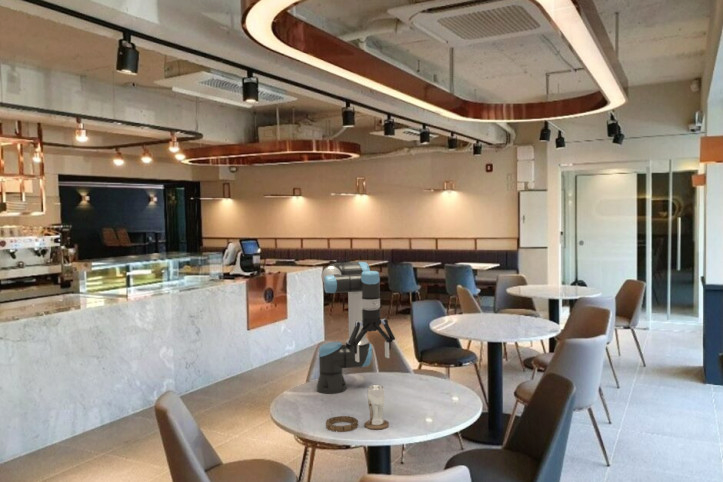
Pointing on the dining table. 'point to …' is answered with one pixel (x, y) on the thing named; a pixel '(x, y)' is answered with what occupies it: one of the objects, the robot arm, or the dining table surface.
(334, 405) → the dining table surface
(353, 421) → the ring
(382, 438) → the dining table surface
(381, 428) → the walnut coaster
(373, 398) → the beer glass
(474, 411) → the dining table surface
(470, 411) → the dining table surface
